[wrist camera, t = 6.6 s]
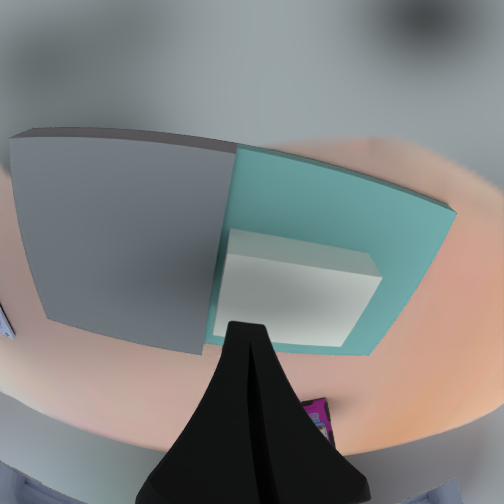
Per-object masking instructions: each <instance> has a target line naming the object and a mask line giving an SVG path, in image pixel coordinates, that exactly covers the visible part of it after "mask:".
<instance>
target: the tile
mask: <svg viewBox="0 0 504 504" xmlns="http://www.w3.org/2000/svg"><path fill="white" fill-rule="evenodd" d="M382 278H383V277H382V275H381V274H380V272H379V270H378V268H377V267H376V265H375V263H374V262H373V260H372V258H371V257H370V255H369V253H366V252H361V251H355V250H350V249H345V248H339V247H334V246H329V245H323V244H318V243H312V242H307V241H301V240H295V239H290V238H284V237H278V236H273V235H267V234H261V233H255V232H249V231H243V230H237V229H231V228H230V231H229V236H228V242H227V247H226V252H225V258H224V264H223V269H222V275H221V280H220V286H219V292H218V298H217V303H216V311H215V320H214V329H213V335H215V336H222V337H225V334H226V330H227V326H228V322H230V321H240V322H248V323H256V324H264V325H265V326H266V329H267V332H268V335H269V338H270V340H271V342H275V343H287V344H300V345H315V346H335V347H341V346H342V344H343V343H344V341H345V340H346V338H347V336H348V335H349V333H350V332H351V330H352V329H353V327H354V326H355V324H356V322H357V321H358V319H359V318H360V316H361V314H362V313H363V311H364V309H365V308H366V306H367V304H368V303H369V301H370V299H371V298H372V296H373V294H374V292H375V291H376V289H377V287H378V285H379V284H380V282H381V280H382Z"/></svg>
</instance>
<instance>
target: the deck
mask: <svg viewBox="0 0 504 504" xmlns="http://www.w3.org/2000/svg"><path fill="white" fill-rule="evenodd" d="M237 144H238V143H234V142H228V141H222V140H216V139H209V138H203V137H196V136H188V135H180V134H172V133H163V132H153V131H141V130H128V129H111V128H80V127H65V128H64V127H60V128H33V129H30V130H27V131H25V132H22V133H20V134H17V135H15V136H13V137H10V138H9V154H10V168H11V178H12V186H13V194H14V200H15V206H16V212H17V218H18V223H19V227H20V232H21V236H22V241H23V245H24V249H25V253H26V256H27V260H28V264H29V267H30V270H31V274H32V277H33V280H34V283H35V286H36V289H37V292H38V295H39V298H40V300H41V303H42V306H43V309H44V311H45V314H46V316H47V319H50V320H53V321H56V322H60V323H63V324H66V325H69V326H72V327H76V328H79V329H83V330H86V331H90V332H93V333H97V334H101V335H104V336H108V337H112V338H116V339H120V340H125V341H129V342H133V343H138V344H142V345H147V346H152V347H157V348H162V349H167V350H173V351H178V352H184V353H190V354H196V355H202V350H203V342H204V335H205V328H206V322H207V315H208V308H209V302H210V295H211V289H212V283H213V277H214V270H215V264H216V258H217V253H218V247H219V241H220V235H221V230H222V224H223V219H224V213H225V208H226V202H227V197H228V192H229V187H230V181H231V176H232V171H233V166H234V161H235V156H236V151H237Z"/></svg>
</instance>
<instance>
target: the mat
mask: <svg viewBox="0 0 504 504" xmlns="http://www.w3.org/2000/svg"><path fill="white" fill-rule="evenodd" d="M456 215H457V213H456V212H455V211H454V210H453V209H452V208H450V207H449V206H448V205H446V204H444V203H441V202H439V201H436V200H434V199H432V198H429V197H427V196H424V195H421V194H419V193H416V192H414V191H411V190H408V189H405V188H403V187H400V186H397V185H394V184H391V183H389V182H386V181H383V180H380V179H377V178H374V177H371V176H367V175H364V174H361V173H358V172H355V171H351V170H348V169H345V168H341V167H338V166H334V165H330V164H327V163H323V162H319V161H316V160H312V159H308V158H304V157H300V156H296V155H292V154H287V153H283V152H278V151H274V150H269V149H265V148H260V147H255V146H250V145H244V144H239V143H238V144H237V151H236V156H235V161H234V166H233V171H232V176H231V181H230V187H229V192H228V197H227V202H226V208H225V213H224V219H223V224H222V230H221V235H220V241H219V247H218V253H217V258H216V264H215V270H214V277H213V283H212V289H211V295H210V302H209V308H208V315H207V322H206V328H205V335H204V342H203V343H208V344H215V345H222V346H223V343H224V339H225V337H222V336H215V335H213V329H214V320H215V311H216V303H217V298H218V292H219V286H220V280H221V275H222V269H223V264H224V258H225V252H226V247H227V242H228V236H229V231H230V228H231V229H237V230H243V231H249V232H255V233H261V234H267V235H273V236H278V237H284V238H290V239H295V240H301V241H307V242H312V243H318V244H323V245H329V246H334V247H339V248H345V249H350V250H355V251H361V252H366V253H369V255H370V257H371V258H372V260H373V262H374V263H375V265H376V267H377V268H378V270H379V272H380V274H381V275H382V277H383V278H382V280H381V282H380V284H379V285H378V287H377V289H376V291H375V292H374V294H373V296H372V298H371V299H370V301H369V303H368V304H367V306H366V308H365V309H364V311H363V313H362V314H361V316H360V318H359V319H358V321H357V322H356V324H355V326H354V327H353V329H352V330H351V332H350V333H349V335H348V336H347V338H346V340H345V341H344V343H343V344H342V346H341V347H335V346H315V345H300V344H287V343H275V342H271V343H272V346H273V348H274V351H276V352H288V353H302V354H321V355H353V356H369V355H370V354H371V352H372V351H373V350H374V348H375V347H376V346H377V345H378V343H379V342H380V341H381V339H382V338H383V337H384V335H385V334H386V333H387V331H388V330H389V328H390V327H391V326H392V324H393V323H394V321H395V320H396V319H397V317H398V316H399V314H400V313H401V311H402V310H403V308H404V307H405V305H406V304H407V302H408V301H409V299H410V298H411V296H412V295H413V293H414V292H415V290H416V288H417V287H418V285H419V283H420V282H421V280H422V279H423V277H424V275H425V274H426V272H427V270H428V268H429V267H430V265H431V263H432V261H433V260H434V258H435V256H436V254H437V252H438V251H439V249H440V247H441V245H442V243H443V241H444V239H445V237H446V235H447V233H448V231H449V229H450V227H451V225H452V223H453V221H454V219H455V217H456Z"/></svg>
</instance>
